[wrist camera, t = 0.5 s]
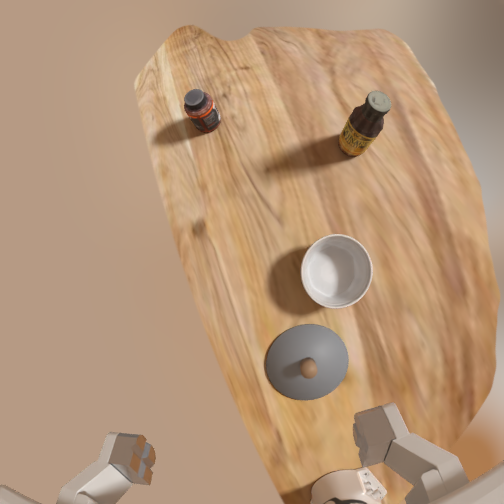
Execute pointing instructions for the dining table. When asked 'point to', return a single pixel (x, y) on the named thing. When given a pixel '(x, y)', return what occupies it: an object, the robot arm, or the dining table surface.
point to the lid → (307, 362)
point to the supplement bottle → (202, 110)
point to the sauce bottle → (364, 124)
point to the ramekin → (336, 271)
